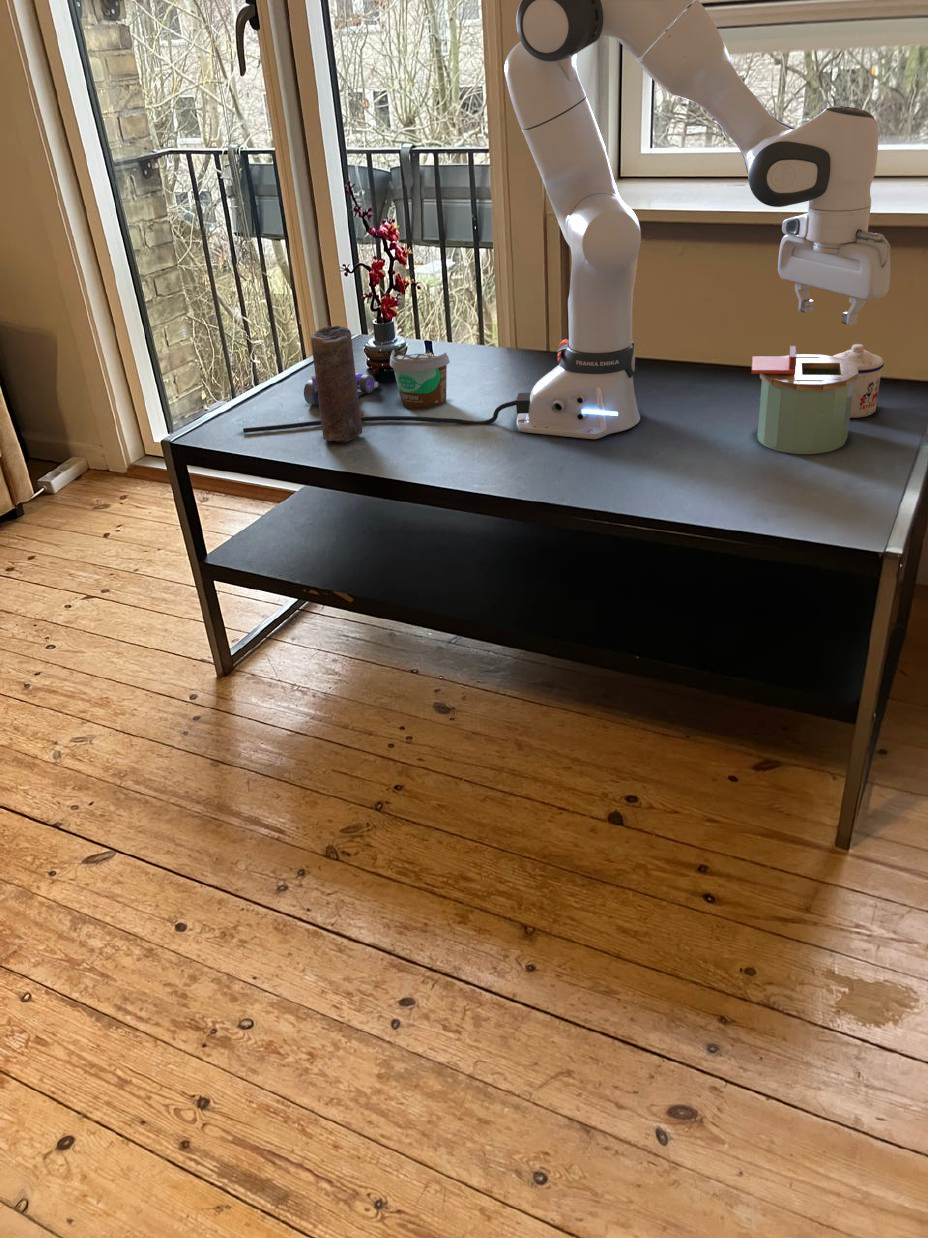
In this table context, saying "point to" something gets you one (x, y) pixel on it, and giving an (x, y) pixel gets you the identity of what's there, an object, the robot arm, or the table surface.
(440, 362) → the food container
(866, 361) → the teacup with lid
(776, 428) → the green round box
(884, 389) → the table surface
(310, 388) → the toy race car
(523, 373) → the table surface
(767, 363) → the slider
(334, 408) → the candle
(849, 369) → the round tan lid
